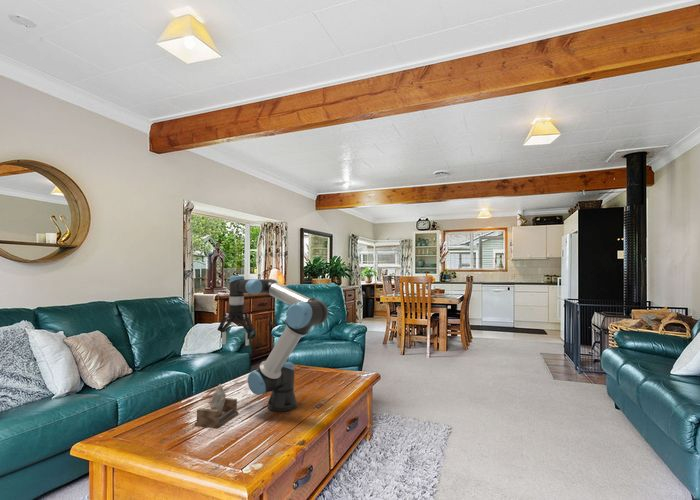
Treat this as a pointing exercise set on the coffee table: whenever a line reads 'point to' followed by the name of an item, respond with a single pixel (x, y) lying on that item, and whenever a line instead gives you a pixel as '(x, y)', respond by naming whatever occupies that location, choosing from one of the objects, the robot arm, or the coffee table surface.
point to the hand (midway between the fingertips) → (235, 344)
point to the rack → (217, 415)
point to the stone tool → (218, 399)
